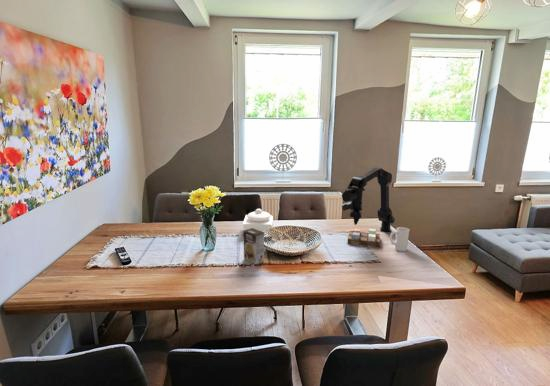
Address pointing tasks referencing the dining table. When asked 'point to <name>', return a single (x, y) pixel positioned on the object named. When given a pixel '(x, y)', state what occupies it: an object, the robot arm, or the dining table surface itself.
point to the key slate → (356, 236)
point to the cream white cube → (371, 237)
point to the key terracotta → (356, 230)
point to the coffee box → (253, 245)
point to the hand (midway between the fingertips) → (355, 224)
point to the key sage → (372, 231)
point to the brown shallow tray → (364, 240)
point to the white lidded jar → (258, 220)
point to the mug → (400, 238)
